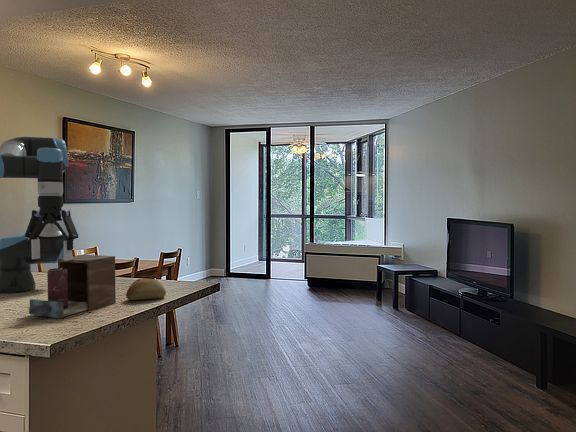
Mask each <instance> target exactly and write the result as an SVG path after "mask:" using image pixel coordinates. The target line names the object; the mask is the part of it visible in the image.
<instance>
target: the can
mask: <svg viewBox="0 0 576 432" xmlns="http://www.w3.org/2000/svg"><path fill="white" fill-rule="evenodd" d="M46 275H47V277H46V278H47V301H54V302H63V309H66V308H68V273H67V270H66V268H58V267H56V268H49V269H48V271H47V274H46Z"/></svg>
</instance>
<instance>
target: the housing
mask: <svg viewBox="0 0 576 432" xmlns="http://www.w3.org/2000/svg"><path fill="white" fill-rule="evenodd" d="M57 268H66V270H67V273H68V301H76V302H87V303H88V310H87V311H88V312H92V311H94V310H97V309H101V308H104V307H107V306H111V305H114V304H117V303H116V294H117V293H116V255H114V256H113V255H98V254H81V255H72V260H68V261H64V258H60V259H58V263H57Z"/></svg>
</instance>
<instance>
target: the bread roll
mask: <svg viewBox="0 0 576 432" xmlns="http://www.w3.org/2000/svg"><path fill="white" fill-rule="evenodd" d="M125 295H126V297H125V298H126V299H127V300H129V301H138V300H139V301H140V300H141V301H142V300H152V299H153V300H155V299H163V298H164V297H165V296H166V295H167V292H166V288H165V287H164V285H163V284H162V282H161V281H159V280H157V279H156V278H150V277H148V278H139V279H137V280H135V281H132V283H131V284H130V285H129V287H128V288H127V291H126V294H125Z"/></svg>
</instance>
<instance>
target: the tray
mask: <svg viewBox="0 0 576 432" xmlns="http://www.w3.org/2000/svg"><path fill="white" fill-rule="evenodd" d="M83 311H88V302H87V301H84V302H76V301H68V308H66V309H63V302H54V301H48V300H42V299H33V298H32V299H29V307H28V314H29V315H30V316H39V317H46V318H47V317H48V318H53V319H55V318H56V319H64V317H67V316H70V315H71V316H72V315H74V314H78V313H82V312H83Z"/></svg>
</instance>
